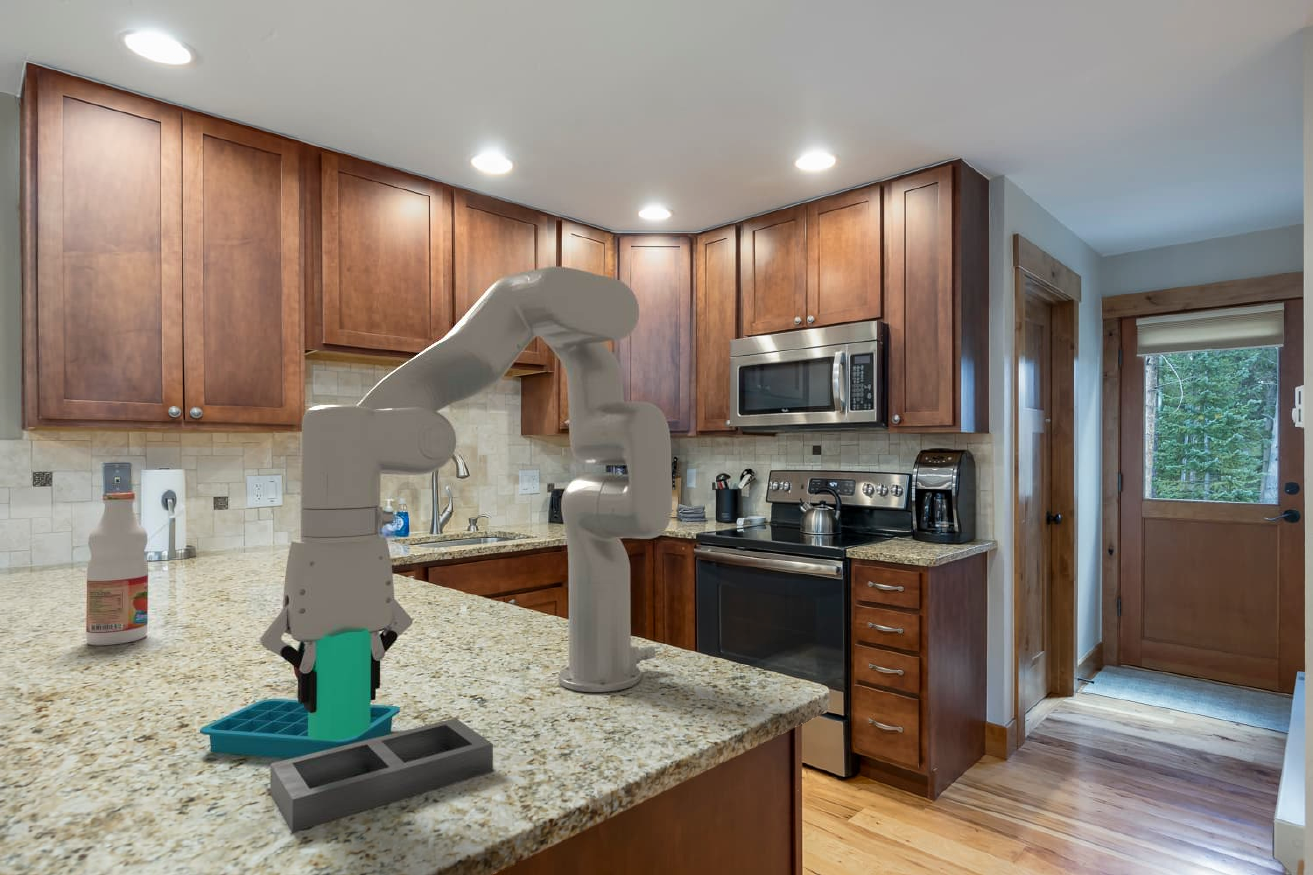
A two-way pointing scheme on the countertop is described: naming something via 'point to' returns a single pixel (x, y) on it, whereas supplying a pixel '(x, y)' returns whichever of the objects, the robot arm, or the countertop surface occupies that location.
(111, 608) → the fruit juice
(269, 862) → the countertop surface
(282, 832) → the countertop surface
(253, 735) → the ice cube tray
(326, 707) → the candle
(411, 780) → the hollow block
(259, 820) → the countertop surface
